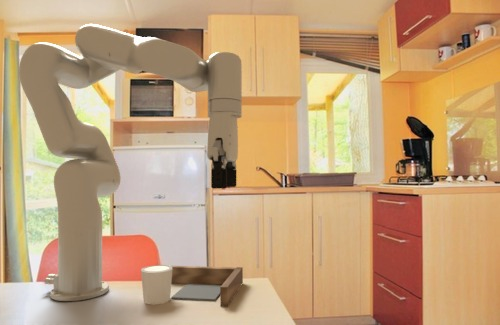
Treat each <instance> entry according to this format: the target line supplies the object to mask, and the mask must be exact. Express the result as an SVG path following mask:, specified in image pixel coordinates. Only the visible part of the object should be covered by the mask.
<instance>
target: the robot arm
mask: <svg viewBox="0 0 500 325" xmlns="http://www.w3.org/2000/svg"><path fill="white" fill-rule="evenodd" d="M74 43H75V47H76V49H77V50H78V51H79V53H80V54H81V55H80V56H79V55H78V54H75V53H73V52H71V51H70V50H67V49H66V48H64V47H61V46H59V45H56V44H53V43H50V42H42V41H41V42H36V43H32V44H31V45H29V46H28V47H27V48H26V50H24V51H23V52H24V53H23V54H22V56H21V58H20V61H19V66H18V74H19V75H18V76H19V81H20V85H21V88H22V91H23V92H24V94H25V97H26V98H27V101H28V102H29V104H30V107H31V109H32V112H33V114H34V117H35V121H36V122H37V125H38V128H39V130H40V132H41V135H42V138H43V140H44V143H45V145H46V147H47V150H48V151H49V152H50V153H51V154H52V155H53V156H55V157H59V158H64V159H65V158H66V159H69V160H66V161H65V162H63V163H61V165H59V167H57V169H56V170H55V173H54V175H53V187H54V191H55V197H56V201H57V202H56V203H57V204H56V205H57V217H58V218H57V219H58V220H57V221H58V222H57V223H58V225H57V228H58V230H57V231H58V232H57V233H58V234H57V236H58V237H57V273H49V274H47V276H46V278H45V279H44V280H43V281H44V284H45V285H53V289H51V290H50V293H49V294H50V295H49V297H50V299H52V300H54V301H59V302H77V301H84V300H85V301H86V300H90V299H93V298H98V297H99V296H102V295H104V294H106V293H108V291H109V290H110V284H109V283H108V282H106V281H103V212H102V208H101V204H100V201H99V199H98V198H105V197H109V196H112V195H113V194H115V193H116V192H117V190H118V189H119V187H120V184H121V173H120V169H119V166H118V165H117V164H118V163H117V161H116V158H115V156H114V154H113V152H112V149H111V146H110V144H109V141H108V140H107V137H106V135H105V134H104V133H103V131H102V130H101V129H100V128H99V127H97V126H96V125H95V124H92V123H88V122H83V121H81V120H80V119H79V118H78V116H77V115H76V113H75V112H76V111H75V110H74V109H73V105H72V102H71V101H70V98H69V97H68V95H67V94H66V93H65V91H63V89H62V88H61V85H63V86H65V87H68V88H71V89H75V90H76V89H77V90H78V89H79V90H81V89H85V88H88V87H90V86H92V85H94V84H96V83H98V82H100V81H101V80H103V79H106V78H107V77H110V76H112V75H114V74H115V73H117V72H118V71H120V70H121V71H124V72H127V73H129V74H134V75H137V74H140V73H141V72H144V73H146V72H147V73H150V74H153V75H156V76H160V77H162V78H165V79H167V80H171V81H173V82H174V83H176V84H179V85H180V86H181V87H183V88H184V89H186V90H188V91H190V92H193V93H200V92H205V91H207V118H209V120H208V130H207V152H206V156H207V159H208V160H209V161H210V162H211V168H210V169H211V170H210V171H211V174H210V176H211V177H210V180H211V182H210V185H211V188H212V189H227V188H236V187H237V164H236V161H237V160H238V155H239V135H238V133H239V132H238V131H239V130H238V128H239V127H238V119H241V118H242V112H243V111H242V108H243V106H242V105H243V104H242V95H243V92H242V78H243V77H242V74H243V73H242V72H243V71H242V68H243V67H242V60H241V57H240V56H239V55H238V54H236V53H233V52H229V51H228V52H227V51H221V52H219V51H218V52H215V53H212V54H211V55H210V56H209V57H208V60H206V59H203V58H202V57H201V56H199V55H198V53H196V52H195V51H194V50H192V49H191V48H189V47H187V46H184V45H181V44H179V43H175V42H171V41H168V40H164V39H161V38H158V37H151V36H147V37H145V36H144V37H142V36H138V35H133V34H130V33H126V32H124V31H120V30H117V29H113V28H110V27H108V26H107V27H106V26H102V25H99V24H95V23H94V24H93V23H89V24H85V25H83V26H81V27H79V28H78V29H77V30H76V33H75V37H74Z"/></svg>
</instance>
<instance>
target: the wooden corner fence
mask: <svg viewBox="0 0 500 325" xmlns="http://www.w3.org/2000/svg"><path fill="white" fill-rule="evenodd" d="M170 266H171V267H172V268H173V269H172V281H171V284H195V285H215V284H222V285H220V286H221V287H220V295H219V296H220V298H219V299H220V303H219V304H220V307H227V308H228V307H229V306H230V304H231V302H232V301H233V299H234V297H235V296H236V295H237V293H238V291H239V290H240V288H241V287H242V285H243V284H242V283H244V282H243V281H244V280H243V279H244V275H243V274H244V273H243V272H244V271H243V270H244V269H243V268H244V267H241V266H236V267H228V266H227V267H225V266H200V265H197V266H196V265H195V266H194V265H170ZM241 284H242V285H241ZM240 286H241V287H240ZM238 289H239V290H238Z"/></svg>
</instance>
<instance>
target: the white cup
mask: <svg viewBox="0 0 500 325" xmlns="http://www.w3.org/2000/svg"><path fill="white" fill-rule="evenodd" d="M171 266H172V265H167V264H156V265H148V266H145V267H142V268H140V275H141V285H142V287H141V288H142V298H143V303H144V304H148V305H159V304H160V305H162V304H165V303H167V302H169V301H170V300H171V292H172V291H171V290H172V283H171V281H172V269H173V268H172V267H171Z"/></svg>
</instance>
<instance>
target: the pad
mask: <svg viewBox="0 0 500 325" xmlns="http://www.w3.org/2000/svg"><path fill="white" fill-rule="evenodd" d="M221 286H222V285H215V284H189V283H185V285H184V286H183V287H182V288H181V289H179V290H178V291H177V292H176V293H175V294H173V295H171V296H170V300H186V301H203V302H205V301H207V302H215V301H217V300H218V298H219V297H218V296H220V287H221Z"/></svg>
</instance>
